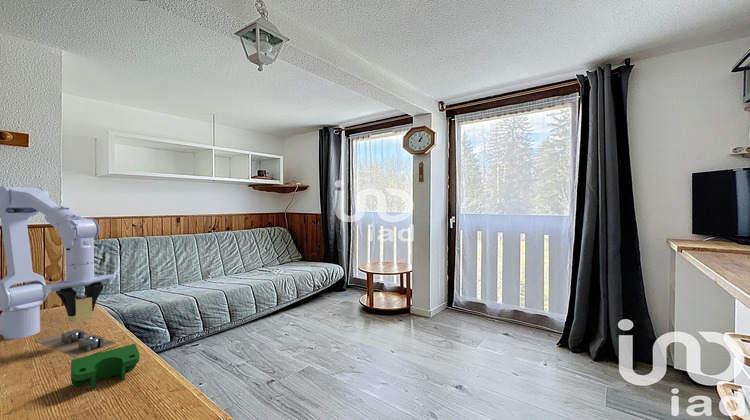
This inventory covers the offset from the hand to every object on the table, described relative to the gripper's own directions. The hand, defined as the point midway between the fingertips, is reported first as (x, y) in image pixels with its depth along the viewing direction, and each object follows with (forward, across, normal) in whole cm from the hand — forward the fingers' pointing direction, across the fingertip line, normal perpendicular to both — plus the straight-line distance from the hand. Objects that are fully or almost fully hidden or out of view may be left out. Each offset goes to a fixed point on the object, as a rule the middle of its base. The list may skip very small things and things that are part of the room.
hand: (80, 313), depth 87 cm
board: (+9, 0, +3) cm, 10 cm away
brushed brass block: (+2, 0, 0) cm, 2 cm away
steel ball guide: (+8, 0, -1) cm, 8 cm away
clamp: (+10, -6, -26) cm, 28 cm away
